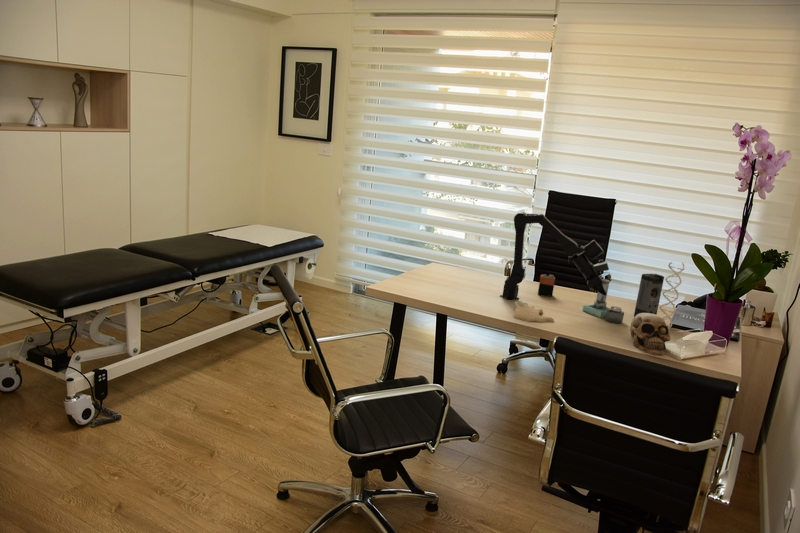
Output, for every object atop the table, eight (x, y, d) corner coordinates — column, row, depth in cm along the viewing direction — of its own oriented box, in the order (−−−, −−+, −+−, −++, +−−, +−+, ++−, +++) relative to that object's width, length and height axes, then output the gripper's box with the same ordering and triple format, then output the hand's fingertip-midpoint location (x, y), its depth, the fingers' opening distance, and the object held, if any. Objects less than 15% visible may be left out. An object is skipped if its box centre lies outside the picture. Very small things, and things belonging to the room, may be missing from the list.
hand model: (504, 310, 253) (519, 295, 270) (502, 320, 255) (517, 304, 272) (549, 323, 245) (561, 306, 262) (547, 333, 247) (559, 316, 264)
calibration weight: (615, 324, 258) (617, 310, 257) (601, 319, 264) (604, 306, 262) (625, 323, 262) (628, 309, 261) (612, 318, 268) (614, 304, 266)
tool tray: (600, 317, 266) (601, 311, 266) (582, 310, 274) (583, 305, 274) (615, 315, 272) (616, 310, 271) (597, 309, 280) (598, 303, 279)
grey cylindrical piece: (602, 309, 269) (607, 282, 266) (591, 306, 272) (596, 279, 270) (607, 308, 272) (613, 281, 270) (597, 305, 276) (602, 278, 273)
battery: (552, 297, 293) (555, 276, 291) (537, 294, 294) (540, 274, 292) (552, 295, 297) (555, 275, 295) (538, 292, 298) (541, 272, 296)
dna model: (662, 335, 249) (677, 263, 243) (650, 330, 255) (665, 260, 248) (674, 335, 252) (689, 264, 245) (662, 329, 258) (677, 260, 251)
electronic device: (642, 321, 267) (651, 277, 263) (631, 317, 272) (640, 273, 268) (657, 320, 272) (666, 276, 267) (646, 316, 277) (654, 273, 272)
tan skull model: (657, 356, 223) (661, 320, 221) (615, 345, 237) (619, 310, 235) (680, 352, 232) (684, 317, 231) (639, 341, 246) (642, 308, 244)
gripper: (600, 258, 259) (622, 288, 259) (599, 251, 277) (620, 279, 277) (578, 273, 263) (600, 302, 263) (578, 265, 281) (599, 292, 280)
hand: (605, 293), depth 271 cm, fingers closed on grey cylindrical piece, 4 cm apart
